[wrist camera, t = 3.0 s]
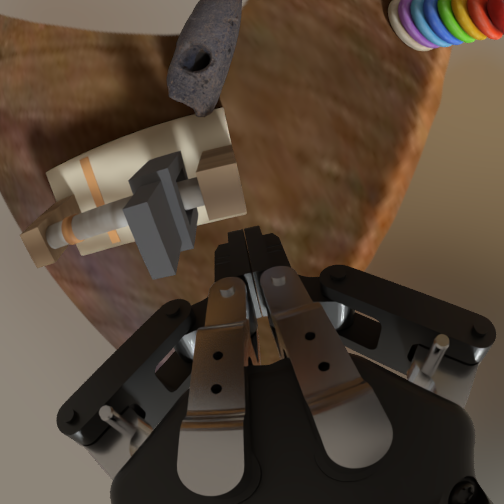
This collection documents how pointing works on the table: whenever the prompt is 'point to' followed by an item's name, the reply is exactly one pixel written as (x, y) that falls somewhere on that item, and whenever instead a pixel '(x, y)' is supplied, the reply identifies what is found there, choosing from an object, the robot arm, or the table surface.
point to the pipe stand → (119, 191)
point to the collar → (160, 214)
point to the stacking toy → (445, 21)
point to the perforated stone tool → (204, 54)
